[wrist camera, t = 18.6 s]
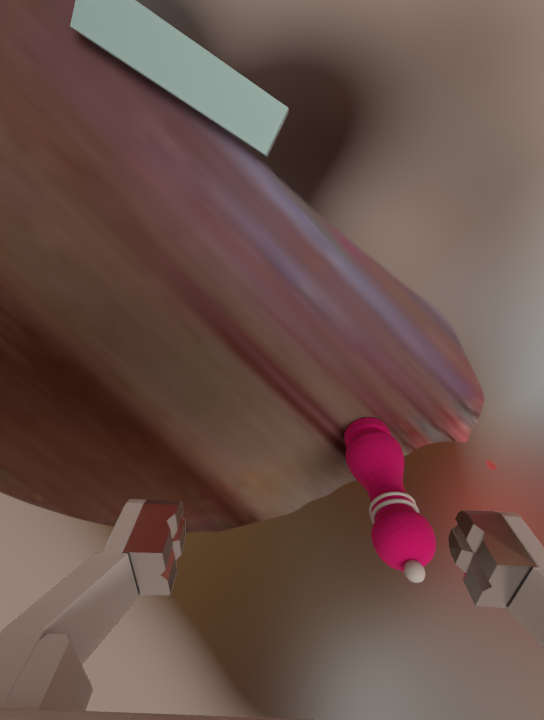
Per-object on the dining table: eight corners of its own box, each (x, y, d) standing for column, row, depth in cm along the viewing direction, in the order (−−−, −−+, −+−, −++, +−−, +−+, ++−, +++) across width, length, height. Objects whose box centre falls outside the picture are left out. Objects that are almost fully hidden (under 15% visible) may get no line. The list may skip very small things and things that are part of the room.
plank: (86, 38, 29) (70, 25, 27) (99, -19, 28) (83, -37, 25) (267, 157, 33) (266, 155, 31) (287, 113, 31) (288, 108, 29)
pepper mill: (379, 405, 45) (444, 545, 28) (400, 441, 48) (471, 590, 30) (331, 427, 47) (363, 572, 29) (354, 460, 50) (395, 611, 32)
